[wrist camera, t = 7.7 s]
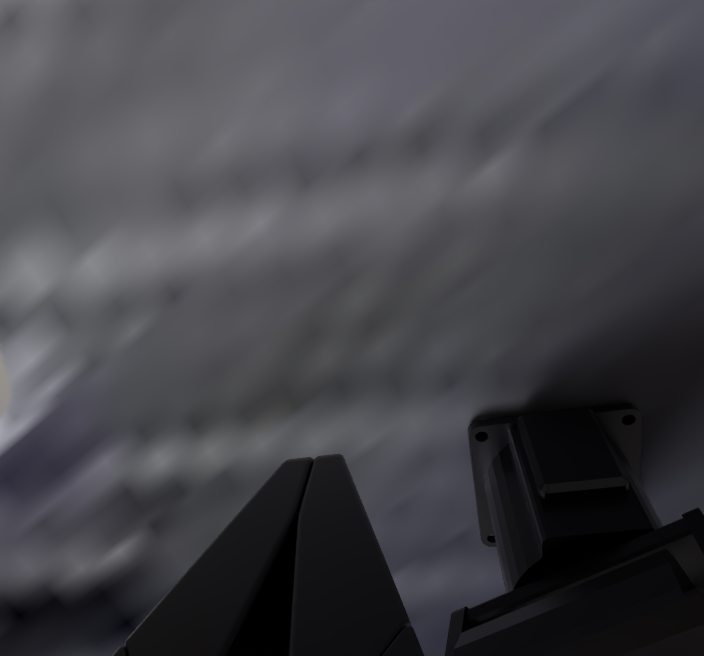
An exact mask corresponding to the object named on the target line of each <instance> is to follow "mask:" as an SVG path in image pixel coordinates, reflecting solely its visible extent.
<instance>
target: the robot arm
mask: <svg viewBox="0 0 704 656" xmlns="http://www.w3.org/2000/svg"><path fill="white" fill-rule="evenodd" d="M628 414H631V416H630V417H629V418H627V419H622V418H623V417H624V416H625V415H628ZM481 431H482V432H486V433H485V434H484V435H482V436H479V435H476V434H477V433H478V432H481ZM468 439H469V447H470V455H471V464H472V472H473V480H474V488H475V496H476V504H477V512H478V520H479V528H480V535H481V540H482V543H483V544H485V545H486V546H489V547H497V551H498V556H499V561H500V565H501V570H502V575H503V580H504V585H505V590H506V593H505V594H503V595H500V596H498V597H496V598H493V599H491V600H488V601H486V602H484V603H481V604H479V605H477V606H474V607H472V608H470V609H469V608H467V607H464V608H462V609H459V610H457V611H455V612H452V614H451V620H450V626H449V633H448V639H447V645H446V651H445V656H704V515H703V514H702V512H701V510H700V509H699V508H696V509H694V510H691V511H689V512H687V513H684V514H682V516H683V518H682V519H679V520H677V521H675V522H672V523H670V524H668V525H665V526H663V525H662V523H661V521H660V519H659V518H658V516H657V514H656V512H655V510H654V508H653V506H652V505H651V503H650V501H649V499H648V497H647V495H646V493H645V492H644V490H643V488H642V486H641V484H640V469H641V442H642V414H641V413H640V411H639V410H638V408H637V407H636V406H635V405H633V404H631V403H621V404H613V405H604V406H596V407H583V408H574V409H566V410H557V411H549V412H540V413H532V414H524V415H519V416H511V417H503V418H494V419H486V420H478V421H475V422H473V423H472V424H470V426H469V427H468ZM491 534H494V535H493V536H489V535H491ZM112 656H424V654H423V652H422V649H421V647H420V644H419V642H418V639H417V637H416V634H415V632H414V629H413V628H412V627H411V623H410V620H409V618H408V615H407V613H406V610H405V608H404V605H403V603H402V600H401V598H400V595H399V593H398V590H397V588H396V585H395V583H394V580H393V578H392V576H391V573H390V571H389V568H388V566H387V563H386V561H385V558H384V556H383V553H382V551H381V548H380V546H379V543H378V541H377V538H376V536H375V533H374V531H373V528H372V526H371V524H370V521H369V519H368V516H367V514H366V511H365V509H364V506H363V504H362V501H361V499H360V496H359V494H358V491H357V489H356V486H355V484H354V481H353V479H352V476H351V474H350V472H349V469H348V467H347V464H346V462H345V459H344V457H343V456H342V455H341V454H334V455H325V456H318V457H316V458H315V459H313V458H311V457H307V458H297V459H289V460H286V461H285V462H284V463H282V465H281V466H280V467H279V468H278V469H277V470H276V471H275V473H274V474H273V475H272V476H271V477H270V478H269V479H268V480H267V482H266V483H265V484H264V485H263V486H262V487H261V488H260V489H259V491H258V492H257V493H256V494H255V495H254V496H253V497H252V498H251V500H250V501H249V502H248V503H247V504H246V505H245V506H244V507H243V509H242V510H241V511H240V512H239V513H238V514H237V515H236V516H235V518H234V519H233V520H232V521H231V522H230V523H229V524H228V526H227V527H226V528H225V529H224V530H223V531H222V532H221V533H220V535H219V536H218V537H217V538H216V539H215V540H214V541H213V542H212V544H211V545H210V546H209V547H208V548H207V549H206V550H205V551H204V553H203V554H202V555H201V556H200V557H199V558H198V559H197V560H196V562H195V563H194V564H193V565H192V566H191V567H190V568H189V569H188V571H187V572H186V573H185V574H184V575H183V576H182V577H181V579H180V580H179V581H178V582H177V583H176V584H175V585H174V586H173V588H172V589H171V590H170V591H169V592H168V593H167V594H166V595H165V597H164V598H163V599H162V600H161V601H160V602H159V603H158V604H157V606H156V607H155V608H154V609H153V610H152V611H151V612H150V613H149V615H148V616H147V617H146V618H145V619H144V620H143V621H142V623H141V624H140V625H139V626H138V627H137V628H136V629H135V630H134V632H133V633H132V634H131V635H130V636H129V637H128V638H127V639H126V641H125V646H120V647H119V648H118V649H117V650H116V651H115V653H114V654H113V655H112Z"/></svg>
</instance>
